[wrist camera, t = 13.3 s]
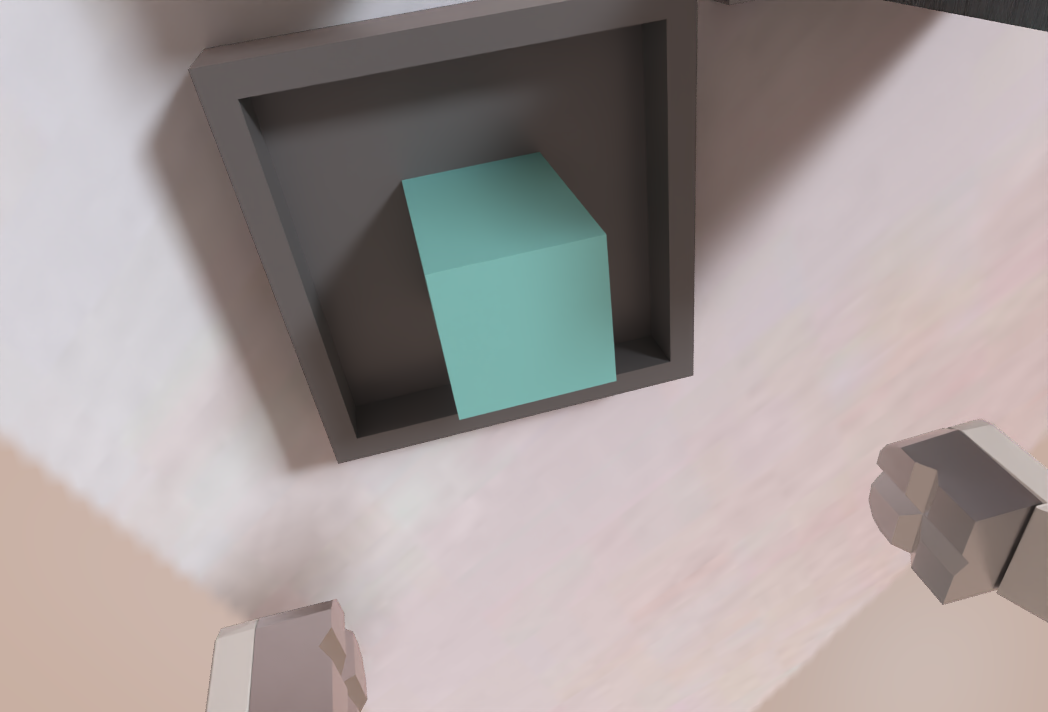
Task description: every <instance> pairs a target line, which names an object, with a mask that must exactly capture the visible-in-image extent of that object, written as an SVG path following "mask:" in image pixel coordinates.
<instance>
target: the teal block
mask: <svg viewBox="0 0 1048 712" xmlns="http://www.w3.org/2000/svg"><path fill="white" fill-rule="evenodd" d="M402 184H403V189H404V193H405V197H406V201H407V205H408V210H409V214H410V218H411V222H412V226H413V231H414V235H415V239H416V243H417V247H418V252H419V256H420V260H421V264H422V268H423V272H424V277H425V281H426V285H427V289H428V293H429V298H430V302H431V306H432V310H433V314H434V318H435V322H436V326H437V330H438V334H439V339H440V343H441V347H442V351H443V355H444V359H445V363H446V367H447V371H448V375H449V379H450V383H451V388H452V392H453V396H454V400H455V404H456V408H457V412H458V416H459V420H461V419H465V418H469V417H473V416H477V415H481V414H485V413H489V412H493V411H497V410H502V409H506V408H510V407H514V406H518V405H522V404H526V403H530V402H534V401H538V400H542V399H546V398H550V397H554V396H558V395H562V394H566V393H570V392H574V391H578V390H582V389H586V388H590V387H594V386H598V385H602V384H606V383H610V382H614V381H616V366H615V352H614V337H613V323H612V308H611V294H610V280H609V265H608V251H607V236H606V233H605V232H604V231H603V230H602V228H601V227H600V226H599V225H598V223H597V222H596V221H595V220H594V219H593V217H592V216H591V215H590V214H589V212H588V211H587V210H586V209H585V207H584V206H583V205H582V204H581V202H580V201H579V200H578V199H577V198H576V196H575V195H574V194H573V193H572V191H571V190H570V189H569V188H568V186H567V185H566V184H565V183H564V182H563V180H562V179H561V178H560V177H559V175H558V174H557V173H556V172H555V170H554V169H553V168H552V167H551V165H550V164H549V163H548V162H547V161H546V159H545V158H544V157H543V156H542V154H541V153H540V152H536V153H531V154H527V155H522V156H517V157H512V158H507V159H503V160H498V161H493V162H488V163H483V164H478V165H474V166H469V167H464V168H459V169H454V170H449V171H445V172H440V173H435V174H430V175H425V176H420V177H416V178H411V179H406V180H402Z"/></svg>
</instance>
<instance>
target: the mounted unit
mask: <svg viewBox="0 0 1048 712" xmlns="http://www.w3.org/2000/svg"><path fill="white" fill-rule="evenodd" d="M714 1H717V2H721V3H724V4H728V5H731V4H737V3H742V2H747V1H753V0H714ZM885 1H891V2H896V3H901V4H906V5H912V6H917V7H922V8H927V9H932V10H938V11H943V12H948V13H953V14H958V15H964V16H969V17H974V18H979V19H985V20H990V21H995V22H1000V23H1005V24H1011V25H1016V26H1021V27H1026V28H1031V29H1037V30H1042V31H1047V32H1048V0H885Z"/></svg>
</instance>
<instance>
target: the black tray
mask: <svg viewBox="0 0 1048 712" xmlns="http://www.w3.org/2000/svg"><path fill="white" fill-rule="evenodd" d="M188 70H189V73H190V75H191V78H192V80H193V83H194V86H195V88H196V91H197V94H198V96H199V99H200V101H201V104H202V107H203V109H204V112H205V115H206V117H207V120H208V122H209V125H210V128H211V130H212V133H213V136H214V138H215V141H216V143H217V146H218V149H219V151H220V154H221V157H222V159H223V162H224V165H225V167H226V170H227V172H228V175H229V178H230V180H231V183H232V186H233V188H234V191H235V193H236V196H237V199H238V201H239V204H240V207H241V209H242V212H243V214H244V217H245V220H246V222H247V225H248V228H249V230H250V233H251V235H252V238H253V241H254V243H255V246H256V249H257V251H258V254H259V256H260V259H261V262H262V264H263V267H264V270H265V272H266V275H267V277H268V280H269V283H270V285H271V288H272V291H273V293H274V296H275V298H276V301H277V304H278V306H279V309H280V312H281V314H282V317H283V320H284V322H285V325H286V327H287V330H288V333H289V335H290V338H291V341H292V343H293V346H294V348H295V351H296V354H297V356H298V359H299V362H300V364H301V367H302V369H303V372H304V375H305V377H306V380H307V383H308V385H309V388H310V390H311V393H312V396H313V398H314V401H315V404H316V406H317V409H318V411H319V414H320V417H321V419H322V422H323V425H324V427H325V430H326V432H327V435H328V438H329V440H330V443H331V446H332V448H333V451H334V453H335V456H336V459H337V461H338V464H339V463H343V462H347V461H351V460H355V459H359V458H363V457H367V456H371V455H376V454H380V453H384V452H388V451H392V450H396V449H400V448H404V447H408V446H412V445H416V444H420V443H424V442H428V441H432V440H436V439H440V438H444V437H448V436H452V435H456V434H460V433H464V432H468V431H472V430H476V429H480V428H484V427H488V426H492V425H496V424H500V423H504V422H508V421H512V420H516V419H520V418H524V417H528V416H532V415H536V414H540V413H544V412H548V411H552V410H556V409H560V408H564V407H568V406H572V405H576V404H580V403H584V402H588V401H592V400H596V399H600V398H604V397H608V396H612V395H616V394H620V393H624V392H628V391H632V390H637V389H641V388H645V387H649V386H653V385H657V384H661V383H665V382H669V381H673V380H677V379H681V378H685V377H689V376H693V353H694V262H695V171H696V80H697V0H477V1H471V2H465V3H460V4H454V5H449V6H443V7H437V8H432V9H426V10H420V11H415V12H409V13H404V14H398V15H392V16H387V17H381V18H376V19H370V20H364V21H359V22H353V23H347V24H342V25H336V26H331V27H325V28H319V29H314V30H308V31H303V32H297V33H291V34H286V35H280V36H274V37H269V38H263V39H258V40H252V41H246V42H241V43H235V44H229V45H224V46H218V47H213V48H207V49H204V50H203V52H202V53H201V54H200V55H199V57H198V58H197V59H196V60H195V61H194V63H193V64H192V65H191V66H190V68H189V69H188ZM536 152H540V153H541V154H542V156H543V157H544V158H545V159H546V161H547V162H548V163H549V164H550V165H551V167H552V168H553V169H554V170H555V172H556V173H557V174H558V175H559V177H560V178H561V179H562V180H563V182H564V183H565V184H566V185H567V186H568V188H569V189H570V190H571V191H572V193H573V194H574V195H575V196H576V198H577V199H578V200H579V201H580V202H581V204H582V205H583V206H584V207H585V209H586V210H587V211H588V212H589V214H590V215H591V216H592V217H593V219H594V220H595V221H596V222H597V223H598V225H599V226H600V227H601V228H602V230H603V231H604V232H605V233H606V236H607V251H608V265H609V280H610V294H611V308H612V323H613V337H614V352H615V366H616V381H614V382H610V383H606V384H602V385H598V386H594V387H590V388H586V389H582V390H578V391H574V392H570V393H566V394H562V395H558V396H554V397H550V398H546V399H542V400H538V401H534V402H530V403H526V404H522V405H518V406H514V407H510V408H506V409H502V410H497V411H493V412H489V413H485V414H481V415H477V416H473V417H469V418H465V419H461V420H459V416H458V412H457V408H456V404H455V400H454V396H453V392H452V388H451V383H450V379H449V375H448V371H447V367H446V363H445V359H444V355H443V351H442V347H441V343H440V339H439V334H438V330H437V326H436V322H435V318H434V314H433V310H432V306H431V302H430V298H429V293H428V289H427V285H426V281H425V277H424V272H423V268H422V264H421V260H420V256H419V252H418V247H417V243H416V239H415V235H414V231H413V226H412V222H411V218H410V214H409V210H408V205H407V201H406V197H405V193H404V189H403V184H402V180H406V179H411V178H416V177H420V176H425V175H430V174H435V173H440V172H445V171H449V170H454V169H459V168H464V167H469V166H474V165H478V164H483V163H488V162H493V161H498V160H503V159H507V158H512V157H517V156H522V155H527V154H531V153H536Z"/></svg>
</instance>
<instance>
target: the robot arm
mask: <svg viewBox="0 0 1048 712" xmlns="http://www.w3.org/2000/svg"><path fill="white" fill-rule="evenodd" d="M877 465H878V466H879V467H880V468H881V469H882V470H883V472H882V473H881V474H880V475H879V477H878V478H877V479H876V480H875V481H874V482H873V483H872V484H871V490H870V495H869V504H870V508H871V512H872V517H873V519H874V521H875V522H876V524H877V526H878V528H879V530H880V531H881V532H882V534H883V535H884V536H885V537H886V539H887V540H888V541H889V542H890V543H891V544H892V545H894V546H896V547H898V548H901V549H903V550H905V551H907V552H909V553H910V554H911V568H912V569H913V571H914V572H915V573H916V574H917V575H918V576H919V578H920V579H921V580H922V581H923V582H924V583H925V585H926V586H927V587H928V588H929V589H930V590H931V592H932V593H933V594H934V595H935V596H936V597H937V599H938V600H939V601H940V602H941V603H942V605H944V604H948V603H952V602H955V601H959V600H962V599H966V598H969V597H973V596H977V595H980V594H983V593H987V592H991V591H994V590H997V594H999V595H1000V596H1002V597H1004V598H1006V599H1007V600H1009V601H1011V602H1013V603H1014V604H1016V605H1018V606H1020V607H1021V608H1023V609H1025V610H1027V611H1028V612H1030V613H1032V614H1034V615H1036V616H1037V617H1039V618H1041V619H1043V620H1045V621H1046V622H1048V469H1047V468H1046V467H1045V466H1044V465H1043V464H1041V463H1040V462H1039V461H1038V460H1036V459H1035V458H1034V457H1033V456H1032V455H1030V454H1029V453H1028V452H1027V451H1026V450H1024V449H1023V448H1022V447H1021V446H1019V445H1018V444H1017V443H1016V442H1015V441H1013V440H1012V439H1011V438H1010V437H1008V436H1007V435H1006V434H1005V433H1004V432H1002V431H1001V430H1000V429H999V428H997V427H996V426H995V425H994V424H992V423H990V422H988V421H985V420H983V419H977V420H973V421H969V422H966V423H962V424H959V425H955V426H952V427H949V428H942V429H938V430H935V431H931V432H928V433H925V434H921V435H918V436H914V437H911V438H908V439H904V440H901V441H897V442H894V443H891V444H887V445H886V446H885V447H884V448H883V449H882V450H881V451H880V453H879V457H878V460H877ZM366 701H367V688H366V677H365V671H364V665H363V659H362V655H361V652H360V648H359V645H358V642H357V640H356V637H355V635H354V633H353V632H352V631H350V630H347V629H345V620H344V612H343V610H342V608H341V606H340V604H339V602H338V600H337V599H334V600H330V601H326V602H322V603H318V604H314V605H310V606H306V607H302V608H298V609H294V610H290V611H286V612H282V613H278V614H274V615H270V616H266V617H262V618H258V619H255V620H251V621H247V622H244V623H240V624H236V625H232V626H229V627H225V628H221V630H220V632H219V634H218V636H217V638H216V640H215V644H214V651H213V659H212V666H211V674H210V681H209V689H208V697H207V704H206V711H205V712H361V710H362V708H363V706H364V705H365V703H366Z"/></svg>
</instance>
